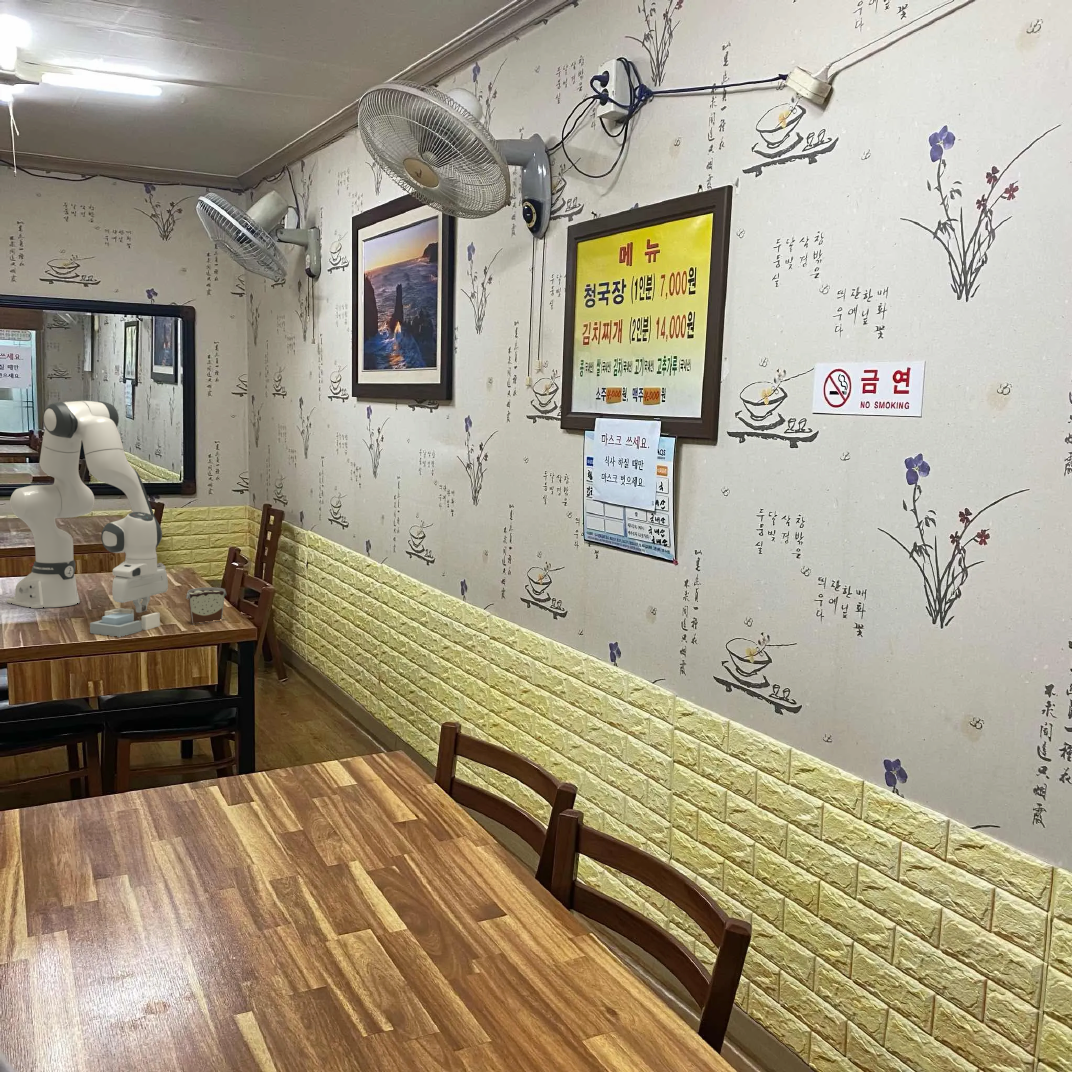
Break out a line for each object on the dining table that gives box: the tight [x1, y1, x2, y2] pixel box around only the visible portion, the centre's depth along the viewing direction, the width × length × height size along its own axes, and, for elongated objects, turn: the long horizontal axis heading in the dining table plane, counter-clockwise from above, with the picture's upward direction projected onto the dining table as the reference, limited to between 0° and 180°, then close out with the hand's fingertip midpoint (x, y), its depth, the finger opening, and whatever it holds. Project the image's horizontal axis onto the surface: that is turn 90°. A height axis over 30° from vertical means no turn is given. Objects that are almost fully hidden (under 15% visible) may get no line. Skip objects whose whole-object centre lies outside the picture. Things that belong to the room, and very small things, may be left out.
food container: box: [185, 586, 227, 623], centre depth 302 cm, size 12×6×10 cm, turn 131°
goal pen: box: [89, 619, 143, 638], centre depth 283 cm, size 10×9×3 cm
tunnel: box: [104, 607, 161, 631], centre depth 292 cm, size 15×6×4 cm, turn 71°
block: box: [101, 612, 133, 625], centre depth 284 cm, size 5×7×5 cm
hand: (141, 611), depth 294 cm, fingers closed
